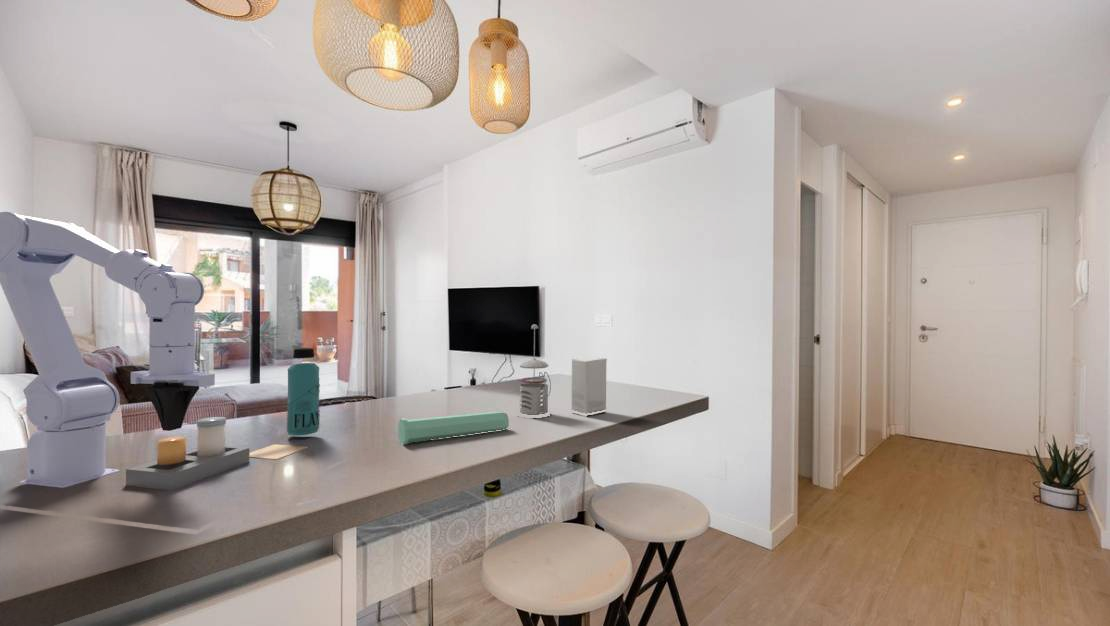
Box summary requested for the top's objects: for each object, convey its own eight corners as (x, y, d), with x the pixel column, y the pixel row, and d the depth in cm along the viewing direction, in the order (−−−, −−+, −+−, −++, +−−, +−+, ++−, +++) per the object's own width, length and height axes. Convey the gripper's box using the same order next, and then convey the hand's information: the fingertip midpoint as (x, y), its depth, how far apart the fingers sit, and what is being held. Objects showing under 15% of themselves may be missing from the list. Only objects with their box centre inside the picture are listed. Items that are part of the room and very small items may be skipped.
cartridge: (190, 468, 81) (190, 421, 81) (212, 461, 85) (212, 416, 85) (210, 470, 80) (210, 423, 80) (231, 462, 84) (231, 417, 84)
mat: (240, 459, 88) (240, 455, 88) (274, 447, 96) (274, 444, 96) (276, 462, 86) (276, 459, 86) (307, 449, 94) (307, 446, 94)
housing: (125, 488, 73) (125, 469, 73) (208, 460, 87) (208, 444, 87) (172, 493, 71) (172, 473, 71) (249, 464, 85) (249, 447, 85)
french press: (538, 409, 135) (539, 323, 135) (562, 417, 126) (563, 324, 126) (509, 413, 130) (510, 324, 129) (532, 421, 120) (533, 325, 120)
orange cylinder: (151, 463, 74) (151, 442, 74) (173, 457, 78) (173, 436, 78) (169, 465, 74) (169, 443, 74) (191, 458, 77) (191, 437, 77)
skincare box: (591, 409, 136) (592, 356, 136) (607, 413, 131) (608, 358, 131) (570, 413, 131) (570, 358, 131) (586, 417, 126) (586, 360, 125)
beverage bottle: (289, 444, 98) (290, 349, 98) (283, 437, 103) (284, 347, 103) (323, 439, 102) (323, 348, 102) (315, 433, 107) (316, 346, 107)
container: (504, 403, 114) (400, 412, 101) (514, 417, 109) (406, 428, 96) (500, 424, 116) (397, 435, 102) (509, 438, 111) (402, 452, 98)
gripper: (109, 346, 73) (109, 432, 73) (184, 348, 70) (184, 438, 70) (156, 343, 80) (155, 422, 80) (226, 345, 77) (226, 427, 77)
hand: (172, 429), depth 76 cm, fingers closed
